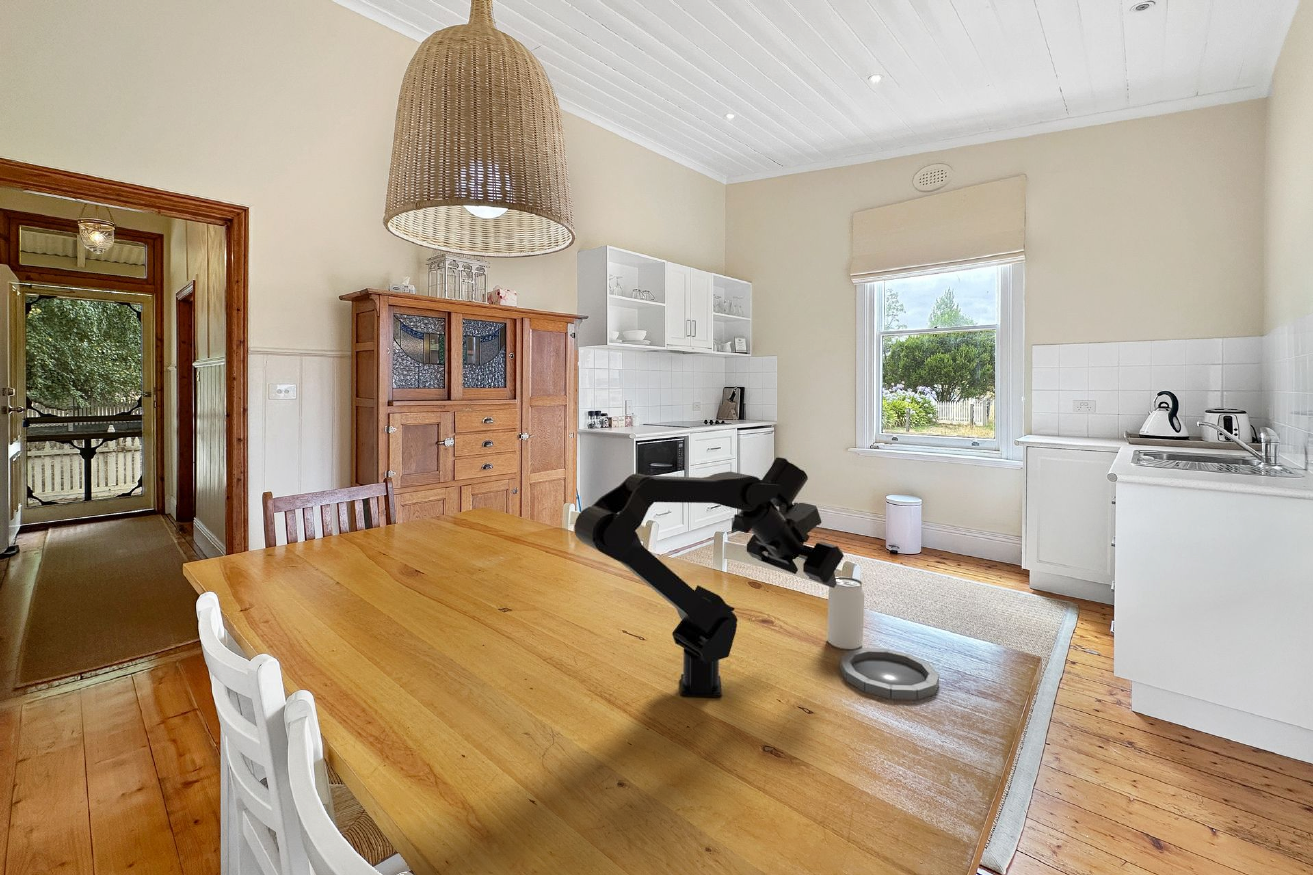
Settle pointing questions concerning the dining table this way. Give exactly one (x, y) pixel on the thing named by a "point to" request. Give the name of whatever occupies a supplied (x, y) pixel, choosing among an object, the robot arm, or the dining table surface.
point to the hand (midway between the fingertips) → (814, 578)
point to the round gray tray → (889, 673)
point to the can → (846, 614)
